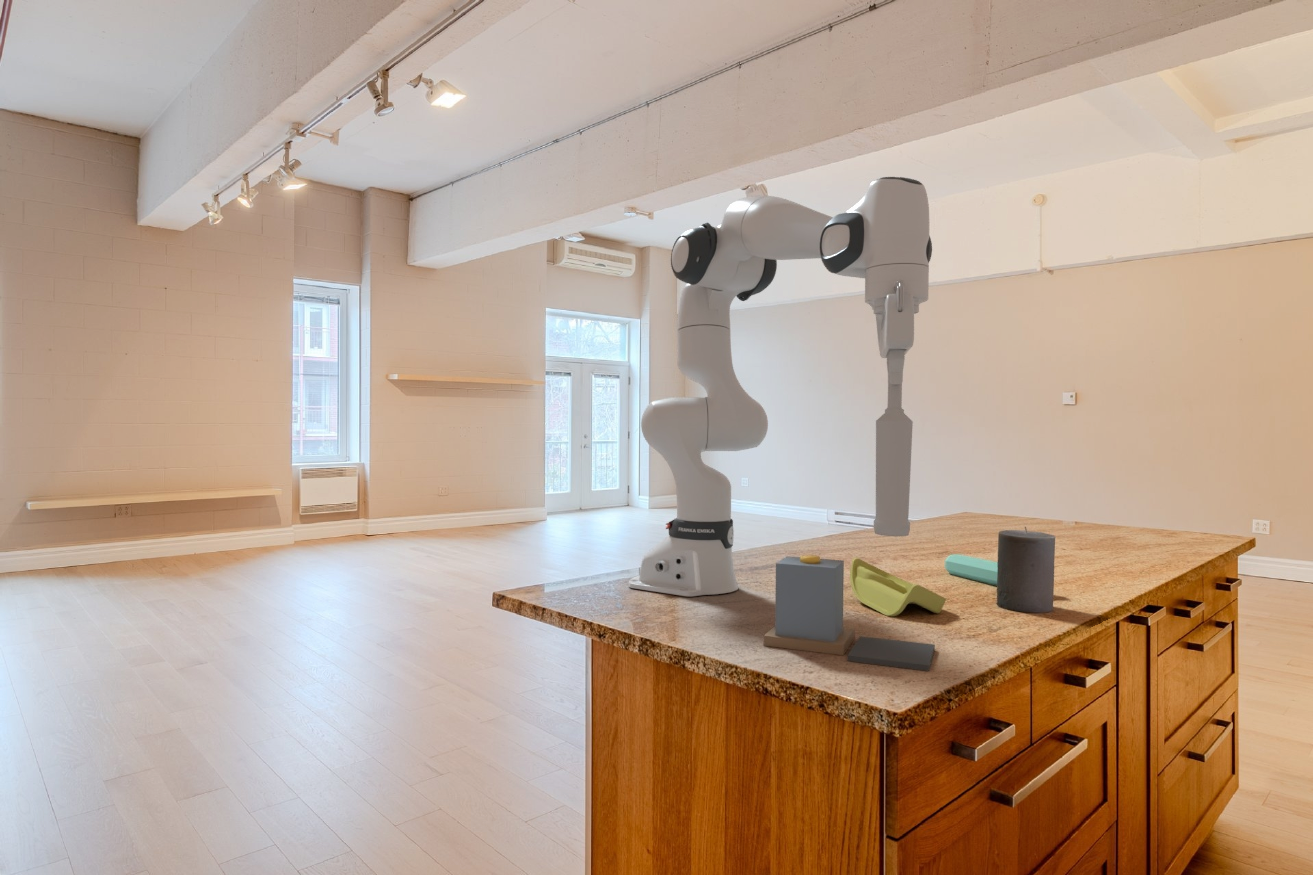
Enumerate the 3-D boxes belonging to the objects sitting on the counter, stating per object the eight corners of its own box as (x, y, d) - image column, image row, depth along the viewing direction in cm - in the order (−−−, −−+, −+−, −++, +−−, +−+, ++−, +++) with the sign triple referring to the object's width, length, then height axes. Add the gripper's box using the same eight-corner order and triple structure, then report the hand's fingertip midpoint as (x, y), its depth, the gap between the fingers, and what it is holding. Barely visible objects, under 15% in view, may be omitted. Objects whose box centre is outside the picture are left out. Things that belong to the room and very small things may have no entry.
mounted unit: (763, 645, 119) (764, 558, 119) (780, 629, 128) (781, 548, 128) (843, 655, 114) (844, 564, 114) (854, 638, 123) (855, 554, 123)
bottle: (898, 537, 110) (902, 360, 110) (866, 533, 114) (870, 362, 114) (916, 534, 114) (921, 363, 113) (885, 530, 118) (889, 364, 117)
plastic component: (952, 601, 139) (910, 580, 136) (934, 639, 139) (892, 619, 136) (886, 572, 158) (849, 553, 155) (871, 605, 158) (833, 587, 155)
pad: (847, 660, 111) (847, 655, 111) (859, 641, 121) (859, 636, 121) (928, 671, 107) (928, 665, 107) (934, 649, 117) (934, 644, 117)
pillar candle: (988, 607, 145) (990, 526, 144) (1005, 598, 152) (1007, 521, 152) (1045, 616, 138) (1047, 532, 138) (1060, 606, 146) (1062, 526, 145)
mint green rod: (944, 547, 178) (1031, 563, 155) (963, 555, 180) (1052, 573, 157) (936, 571, 177) (1022, 592, 154) (955, 580, 179) (1044, 601, 156)
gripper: (926, 276, 102) (924, 381, 103) (913, 299, 122) (912, 387, 123) (876, 277, 104) (874, 381, 104) (871, 300, 124) (870, 388, 124)
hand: (895, 385), depth 114 cm, fingers closed on bottle, 2 cm apart
